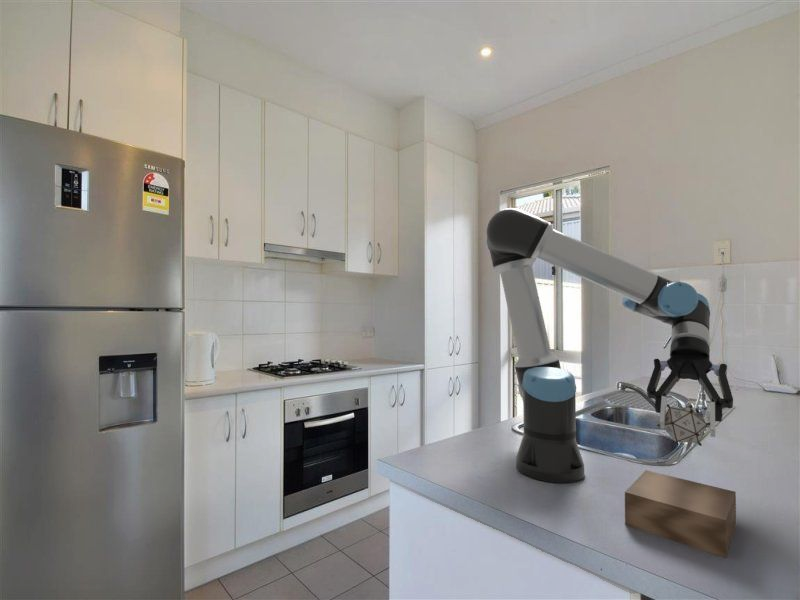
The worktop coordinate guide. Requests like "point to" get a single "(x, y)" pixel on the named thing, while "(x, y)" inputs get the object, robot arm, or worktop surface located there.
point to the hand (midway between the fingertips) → (686, 429)
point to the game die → (684, 425)
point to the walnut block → (682, 511)
